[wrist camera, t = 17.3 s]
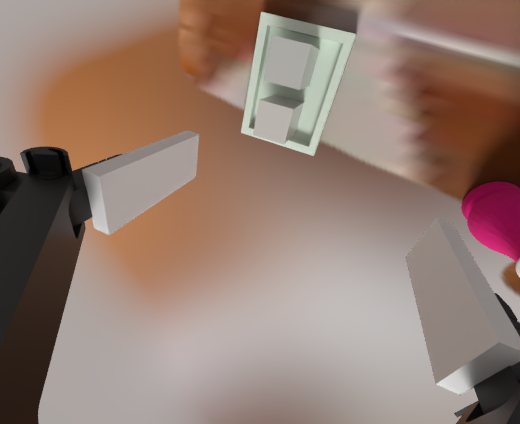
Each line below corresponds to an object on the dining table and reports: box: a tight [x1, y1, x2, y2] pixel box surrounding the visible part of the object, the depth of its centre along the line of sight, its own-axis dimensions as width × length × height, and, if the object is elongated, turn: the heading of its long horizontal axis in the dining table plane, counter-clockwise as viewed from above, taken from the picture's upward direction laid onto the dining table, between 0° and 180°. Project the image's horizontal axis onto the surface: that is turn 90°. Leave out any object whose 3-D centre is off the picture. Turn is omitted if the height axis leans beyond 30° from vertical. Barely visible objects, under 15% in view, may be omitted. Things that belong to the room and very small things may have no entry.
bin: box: [241, 12, 356, 156], centre depth 32 cm, size 14×11×2 cm
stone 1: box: [264, 36, 320, 90], centre depth 28 cm, size 4×4×7 cm
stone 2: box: [253, 94, 304, 144], centre depth 31 cm, size 4×4×7 cm
